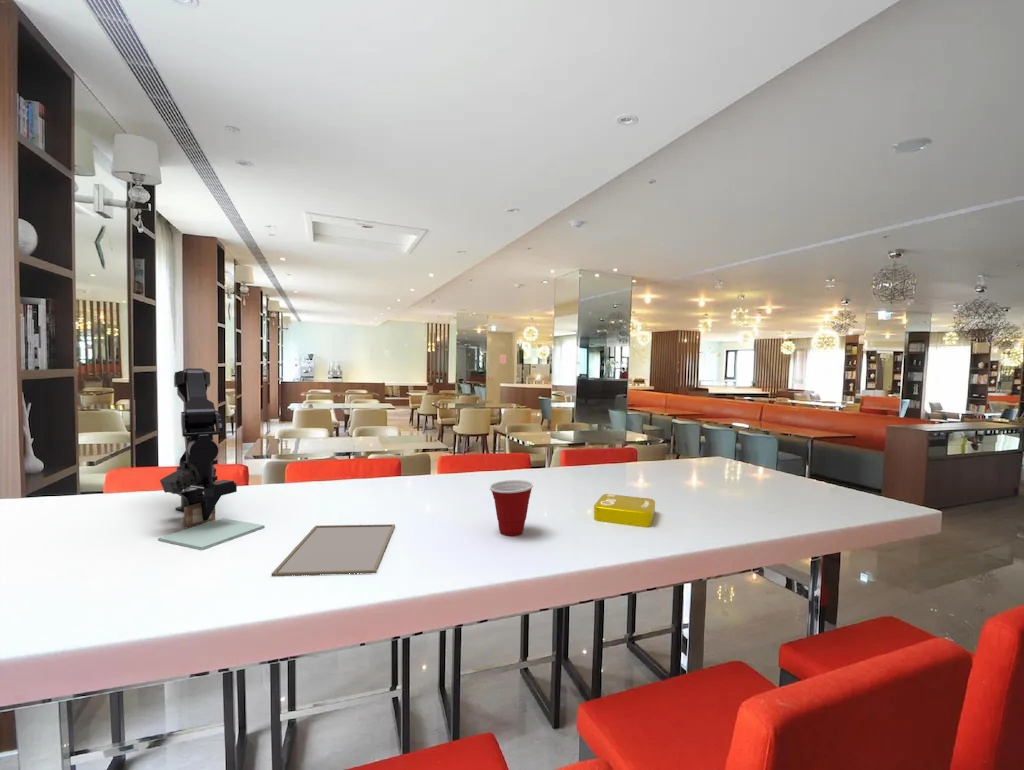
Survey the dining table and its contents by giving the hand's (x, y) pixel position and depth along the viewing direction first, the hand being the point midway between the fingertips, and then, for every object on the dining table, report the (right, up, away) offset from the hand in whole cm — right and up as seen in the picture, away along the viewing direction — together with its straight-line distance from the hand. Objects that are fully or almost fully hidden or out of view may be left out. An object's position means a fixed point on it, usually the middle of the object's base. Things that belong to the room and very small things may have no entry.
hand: (200, 519), depth 121 cm
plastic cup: (+77, -3, -2) cm, 77 cm away
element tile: (+109, -3, +13) cm, 110 cm away
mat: (+8, -1, -7) cm, 11 cm away
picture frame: (+40, -3, -14) cm, 43 cm away
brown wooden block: (0, -1, 0) cm, 1 cm away
